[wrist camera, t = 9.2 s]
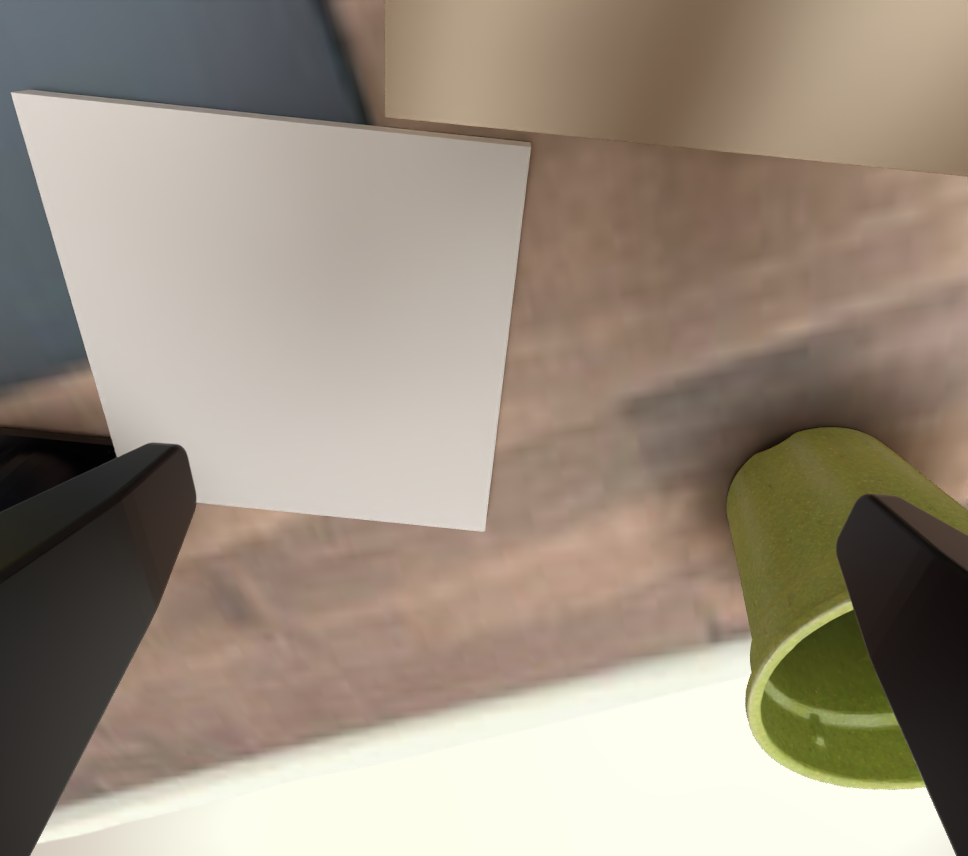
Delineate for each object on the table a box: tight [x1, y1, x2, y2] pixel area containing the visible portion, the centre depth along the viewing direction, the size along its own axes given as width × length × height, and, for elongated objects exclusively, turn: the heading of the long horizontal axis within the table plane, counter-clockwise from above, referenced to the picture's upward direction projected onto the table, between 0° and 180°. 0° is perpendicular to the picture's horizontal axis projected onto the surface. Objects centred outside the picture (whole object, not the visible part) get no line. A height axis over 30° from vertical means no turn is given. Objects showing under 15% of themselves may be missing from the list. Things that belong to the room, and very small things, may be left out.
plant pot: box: [726, 427, 968, 790], centre depth 20 cm, size 9×9×9 cm
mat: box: [11, 90, 531, 532], centre depth 21 cm, size 14×14×1 cm
